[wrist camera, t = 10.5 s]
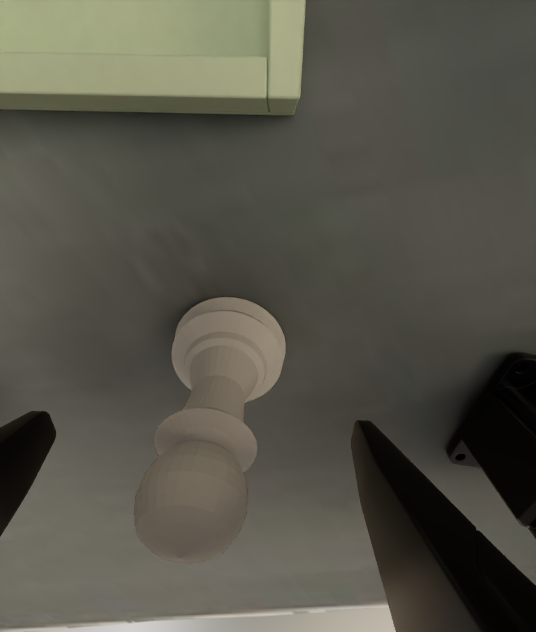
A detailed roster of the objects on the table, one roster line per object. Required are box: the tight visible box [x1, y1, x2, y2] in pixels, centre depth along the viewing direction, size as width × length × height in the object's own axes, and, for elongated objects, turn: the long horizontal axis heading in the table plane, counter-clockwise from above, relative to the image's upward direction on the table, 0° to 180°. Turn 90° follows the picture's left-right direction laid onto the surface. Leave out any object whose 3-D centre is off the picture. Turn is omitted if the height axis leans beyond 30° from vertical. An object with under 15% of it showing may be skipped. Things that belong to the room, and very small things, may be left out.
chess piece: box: [134, 297, 286, 564], centre depth 10 cm, size 5×5×8 cm
